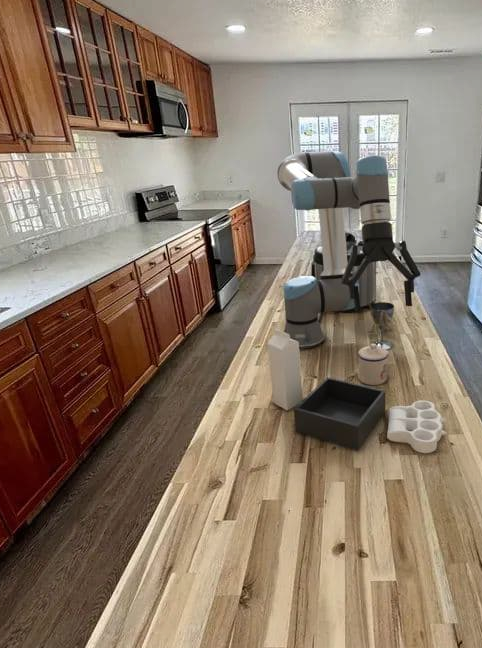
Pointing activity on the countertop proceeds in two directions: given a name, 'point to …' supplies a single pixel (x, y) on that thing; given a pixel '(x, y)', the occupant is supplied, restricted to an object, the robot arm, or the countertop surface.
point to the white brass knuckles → (416, 426)
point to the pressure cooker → (365, 281)
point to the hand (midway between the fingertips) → (383, 309)
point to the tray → (340, 412)
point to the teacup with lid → (373, 365)
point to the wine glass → (382, 319)
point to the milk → (285, 370)
